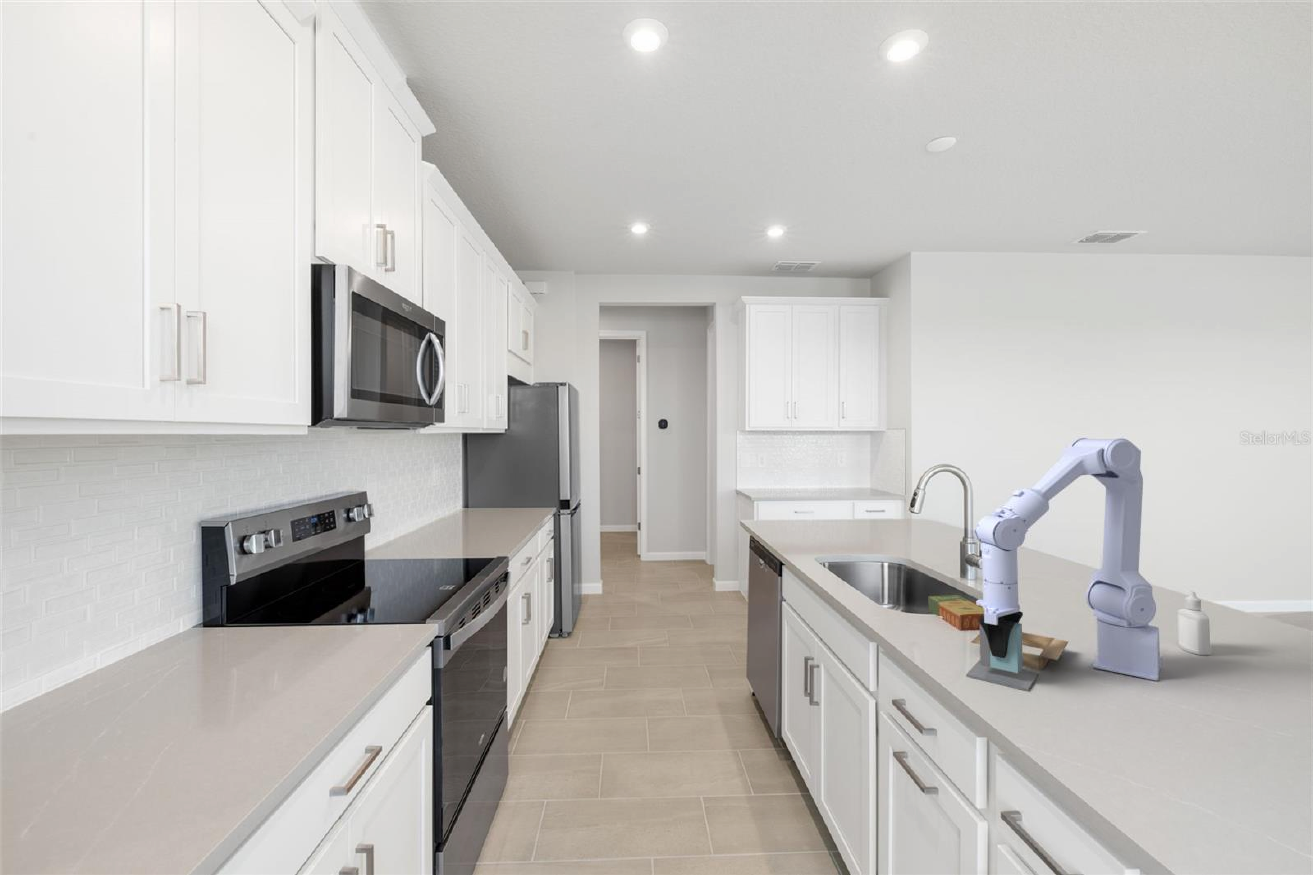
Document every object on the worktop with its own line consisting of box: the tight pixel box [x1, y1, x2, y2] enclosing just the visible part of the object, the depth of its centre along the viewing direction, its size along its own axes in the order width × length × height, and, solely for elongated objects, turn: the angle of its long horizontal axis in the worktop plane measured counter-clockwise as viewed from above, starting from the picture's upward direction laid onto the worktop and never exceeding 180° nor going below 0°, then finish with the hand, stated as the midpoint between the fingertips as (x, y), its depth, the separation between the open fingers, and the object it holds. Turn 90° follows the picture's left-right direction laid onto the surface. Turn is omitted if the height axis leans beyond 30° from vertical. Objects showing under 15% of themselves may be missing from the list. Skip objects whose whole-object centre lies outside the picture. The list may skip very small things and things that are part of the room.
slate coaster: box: [965, 659, 1040, 692], centre depth 109 cm, size 10×9×1 cm
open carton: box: [970, 631, 1069, 671], centre depth 119 cm, size 15×13×2 cm
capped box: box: [979, 621, 1024, 673], centre depth 109 cm, size 6×4×8 cm
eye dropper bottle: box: [1177, 591, 1211, 656], centre depth 118 cm, size 4×6×12 cm
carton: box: [927, 594, 984, 632], centre depth 142 cm, size 8×16×4 cm, turn 179°
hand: (1001, 652), depth 109 cm, fingers closed on capped box, 4 cm apart
